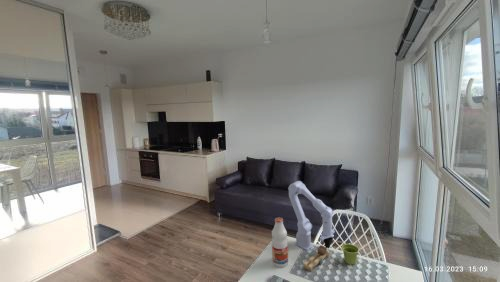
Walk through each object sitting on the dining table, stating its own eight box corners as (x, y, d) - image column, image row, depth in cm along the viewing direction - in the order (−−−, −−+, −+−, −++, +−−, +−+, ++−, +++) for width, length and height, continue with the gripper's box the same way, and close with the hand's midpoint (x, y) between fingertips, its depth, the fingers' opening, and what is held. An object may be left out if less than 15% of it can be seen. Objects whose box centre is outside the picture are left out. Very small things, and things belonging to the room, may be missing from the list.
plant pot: (356, 269, 132) (356, 254, 131) (339, 263, 137) (339, 249, 136) (360, 260, 139) (360, 246, 138) (344, 255, 145) (344, 242, 144)
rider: (323, 257, 140) (323, 250, 140) (317, 255, 143) (317, 247, 143) (326, 255, 143) (326, 247, 142) (320, 252, 146) (320, 245, 145)
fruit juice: (284, 256, 146) (282, 214, 143) (290, 266, 137) (289, 221, 134) (270, 260, 143) (268, 217, 140) (276, 269, 134) (274, 224, 131)
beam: (311, 272, 130) (311, 267, 130) (302, 267, 135) (302, 262, 135) (330, 257, 144) (330, 252, 143) (320, 252, 148) (320, 248, 148)
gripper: (327, 233, 138) (327, 254, 139) (339, 225, 147) (339, 245, 149) (316, 229, 143) (317, 250, 145) (328, 221, 153) (329, 241, 154)
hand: (327, 247), depth 147 cm, fingers closed
